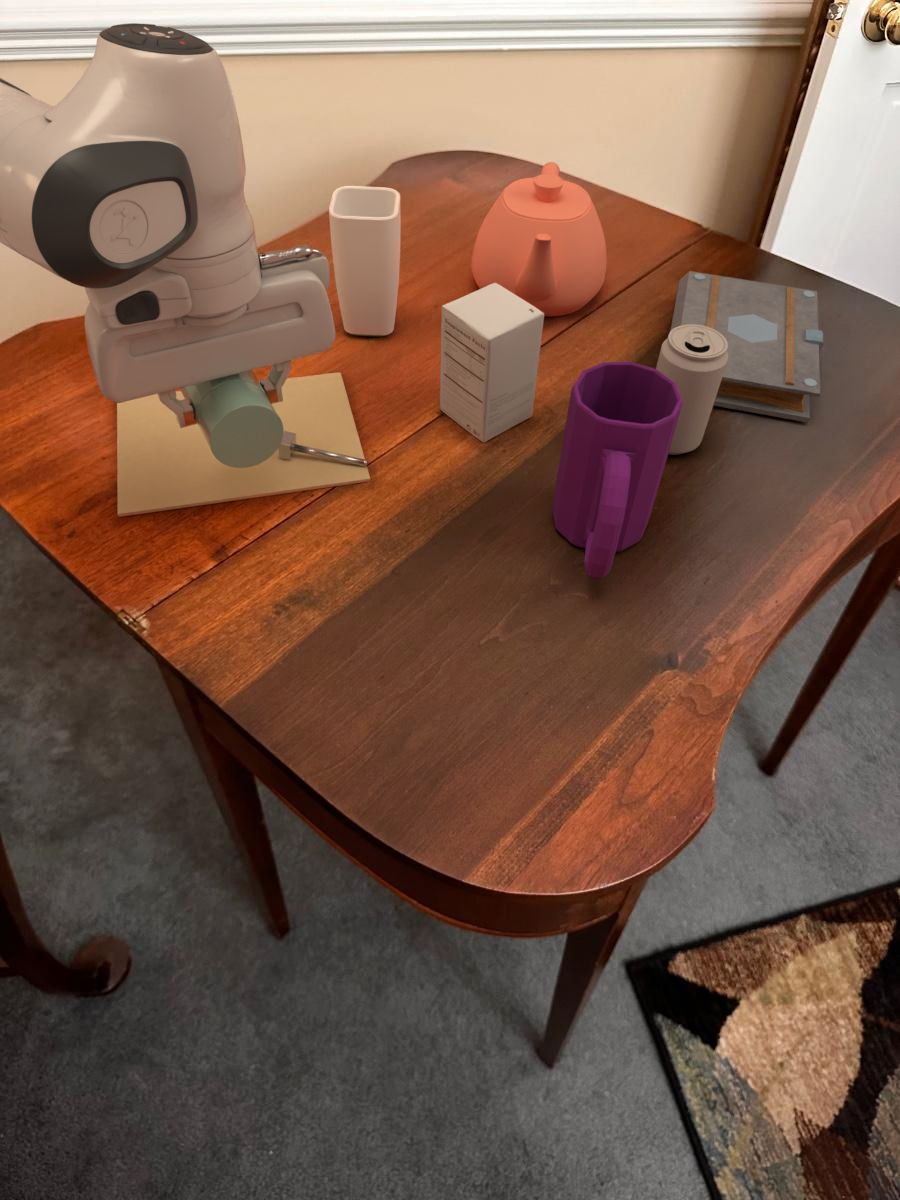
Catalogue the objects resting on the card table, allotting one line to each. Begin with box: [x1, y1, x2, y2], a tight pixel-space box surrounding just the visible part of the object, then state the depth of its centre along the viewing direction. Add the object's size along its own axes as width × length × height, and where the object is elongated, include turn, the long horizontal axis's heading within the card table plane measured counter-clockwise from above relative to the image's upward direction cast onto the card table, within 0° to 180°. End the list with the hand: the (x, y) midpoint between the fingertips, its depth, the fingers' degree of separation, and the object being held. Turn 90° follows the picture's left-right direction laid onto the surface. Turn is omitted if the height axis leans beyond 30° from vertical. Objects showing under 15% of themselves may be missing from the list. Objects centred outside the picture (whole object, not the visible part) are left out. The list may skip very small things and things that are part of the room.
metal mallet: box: [279, 431, 369, 467], centre depth 87 cm, size 2×2×9 cm
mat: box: [116, 371, 371, 518], centre depth 89 cm, size 24×18×1 cm
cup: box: [328, 185, 402, 337], centre depth 98 cm, size 7×7×15 cm
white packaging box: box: [439, 283, 545, 444], centre depth 88 cm, size 7×7×13 cm
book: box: [670, 270, 824, 423], centre depth 100 cm, size 21×16×5 cm
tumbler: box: [180, 370, 284, 468], centre depth 77 cm, size 6×6×9 cm
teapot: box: [470, 161, 608, 317], centre depth 105 cm, size 25×17×13 cm
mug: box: [551, 361, 683, 580], centre depth 75 cm, size 9×16×15 cm, turn 170°
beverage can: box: [655, 324, 728, 456], centre depth 87 cm, size 6×6×12 cm
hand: (229, 411), depth 78 cm, fingers closed on tumbler, 6 cm apart
